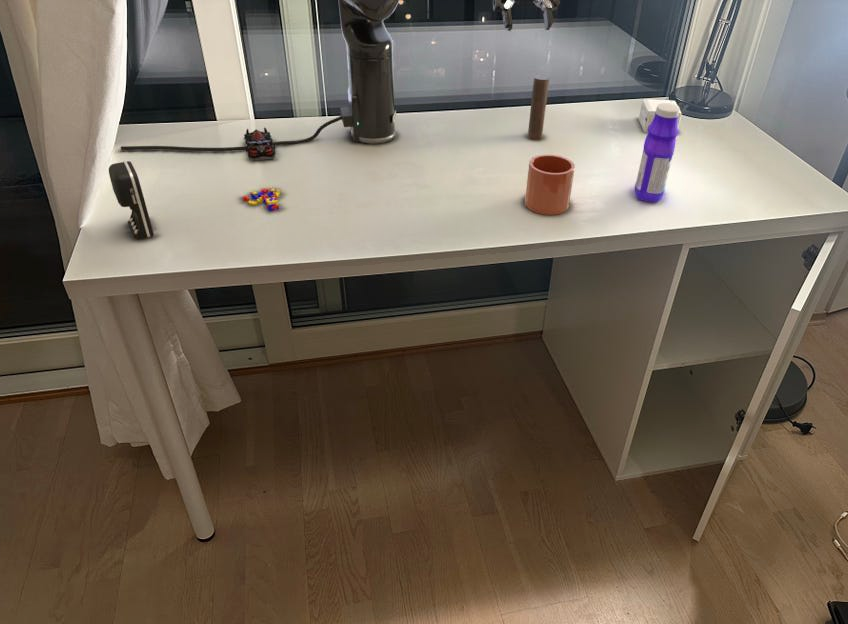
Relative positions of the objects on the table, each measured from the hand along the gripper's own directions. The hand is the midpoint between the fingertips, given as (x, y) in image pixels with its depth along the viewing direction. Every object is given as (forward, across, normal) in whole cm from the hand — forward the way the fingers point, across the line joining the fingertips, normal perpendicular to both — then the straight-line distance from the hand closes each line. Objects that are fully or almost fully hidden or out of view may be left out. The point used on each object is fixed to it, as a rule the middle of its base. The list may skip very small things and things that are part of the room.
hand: (529, 28), depth 151 cm
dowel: (+22, 0, +6) cm, 22 cm away
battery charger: (+43, -78, -18) cm, 91 cm away
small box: (+20, +31, +9) cm, 38 cm away
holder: (+43, -6, -16) cm, 46 cm away
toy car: (+22, -59, +5) cm, 63 cm away
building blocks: (+37, -58, -12) cm, 70 cm away
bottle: (+42, +15, -15) cm, 47 cm away
